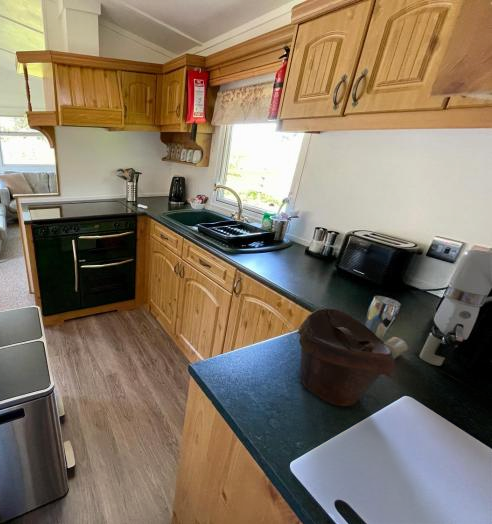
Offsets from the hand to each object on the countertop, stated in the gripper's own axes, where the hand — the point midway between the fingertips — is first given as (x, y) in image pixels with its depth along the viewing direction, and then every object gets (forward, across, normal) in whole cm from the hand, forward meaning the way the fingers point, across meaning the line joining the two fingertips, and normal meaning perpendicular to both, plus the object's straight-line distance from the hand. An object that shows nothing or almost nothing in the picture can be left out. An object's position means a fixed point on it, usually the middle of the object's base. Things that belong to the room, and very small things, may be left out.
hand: (437, 348), depth 85 cm
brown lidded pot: (+4, -32, +27) cm, 42 cm away
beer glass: (+4, 0, +15) cm, 16 cm away
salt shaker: (+2, -2, +9) cm, 10 cm away
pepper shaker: (+4, 0, 0) cm, 4 cm away
